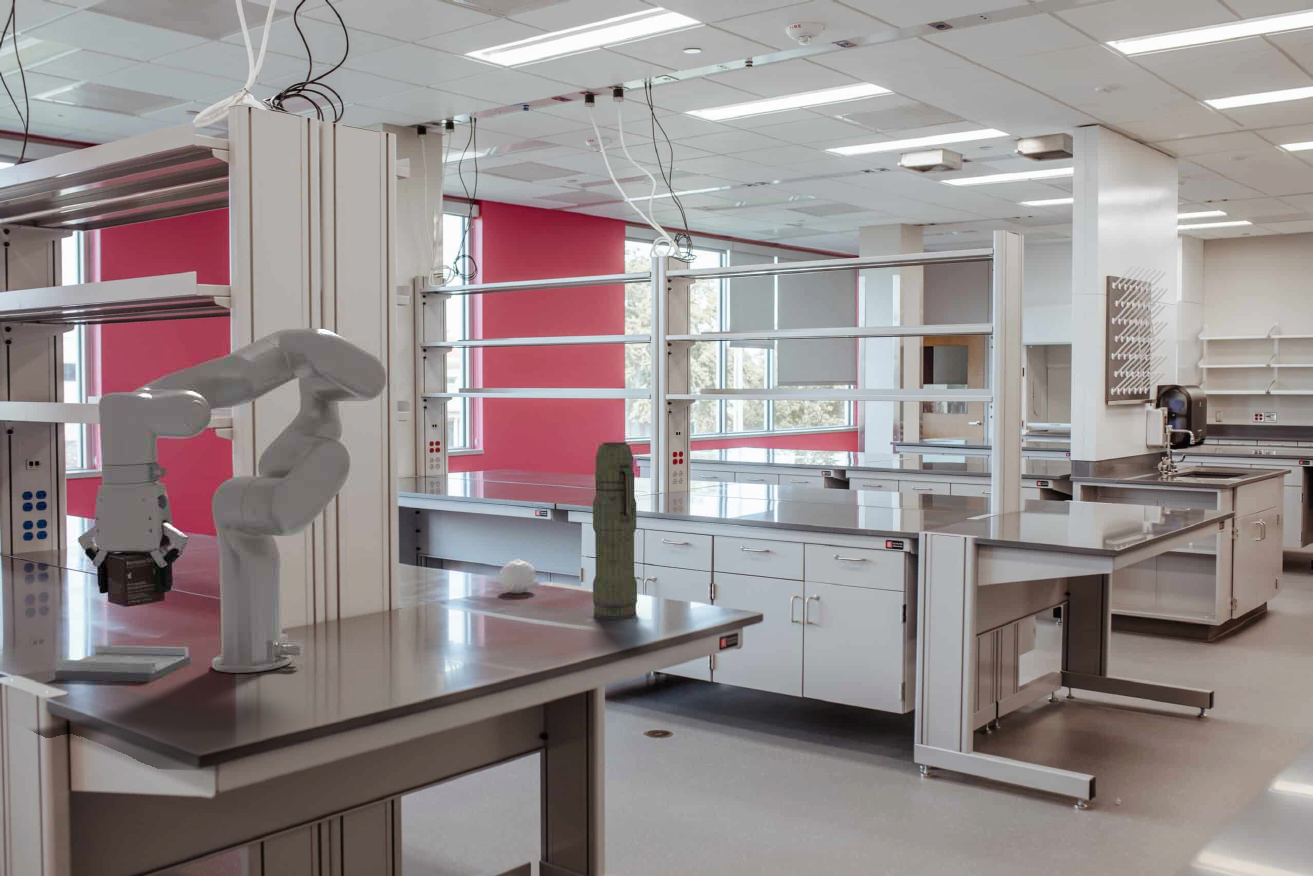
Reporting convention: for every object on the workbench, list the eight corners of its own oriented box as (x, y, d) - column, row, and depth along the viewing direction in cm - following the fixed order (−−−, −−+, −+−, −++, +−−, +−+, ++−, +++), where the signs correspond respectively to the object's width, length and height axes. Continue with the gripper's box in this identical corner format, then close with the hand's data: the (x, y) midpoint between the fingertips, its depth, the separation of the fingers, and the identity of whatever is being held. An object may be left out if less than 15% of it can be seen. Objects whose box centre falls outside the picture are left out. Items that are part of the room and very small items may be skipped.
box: (124, 608, 160) (121, 558, 160) (107, 602, 164) (104, 554, 164) (166, 601, 165) (163, 552, 164) (148, 596, 169) (146, 548, 168)
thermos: (612, 607, 231) (612, 440, 229) (650, 616, 222) (650, 443, 221) (579, 613, 225) (578, 442, 223) (617, 622, 216) (616, 444, 215)
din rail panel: (190, 662, 186) (189, 646, 186) (150, 682, 174) (149, 664, 174) (100, 660, 187) (100, 644, 187) (55, 679, 176) (54, 662, 175)
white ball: (532, 589, 252) (532, 555, 252) (538, 595, 245) (538, 560, 244) (497, 591, 250) (497, 557, 249) (502, 597, 242) (501, 562, 242)
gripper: (199, 472, 166) (203, 587, 167) (90, 473, 168) (96, 586, 169) (172, 478, 158) (177, 597, 160) (59, 478, 160) (65, 596, 161)
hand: (135, 591), depth 164 cm, fingers closed on box, 8 cm apart
